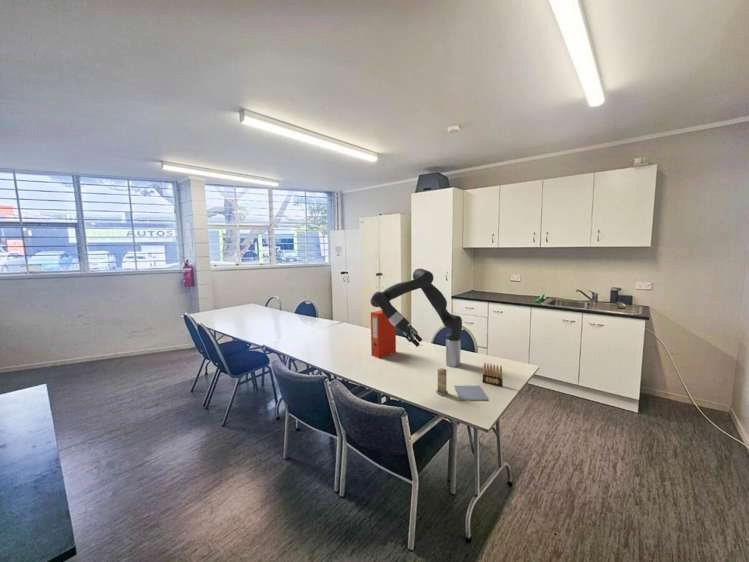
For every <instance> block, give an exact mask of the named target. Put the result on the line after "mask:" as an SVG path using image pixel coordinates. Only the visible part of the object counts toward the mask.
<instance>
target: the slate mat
mask: <svg viewBox="0 0 749 562" xmlns="http://www.w3.org/2000/svg"><path fill="white" fill-rule="evenodd" d="M454 387H455V388H454ZM453 388H454V389H455V392H456V393H457V397H458V398H460V399H459V400H460V402H461V401H462V400H463V401H464V400H472V401H475V400H477V401H478V400H481V401H488V402H489V398H488V397H487V394H486V393H485V392H484V390H483V389H482V387H481V385H453ZM472 401H471V402H472ZM477 401H476V402H477ZM464 402H465V401H464Z"/></svg>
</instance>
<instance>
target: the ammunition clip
mask: <svg viewBox="0 0 749 562" xmlns="http://www.w3.org/2000/svg"><path fill="white" fill-rule="evenodd" d="M502 367H503V366H502V365H500V367H499V365H498V364H497V365H496V364H494V363H493V365H492V363H490V364H489V363H488V362H487V364H486V362H484V363H483V369H482V383H483V384H486V385H491V386H495V387H499V388H502V387H503V385H504V384H503V368H502Z"/></svg>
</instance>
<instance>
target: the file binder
mask: <svg viewBox="0 0 749 562" xmlns="http://www.w3.org/2000/svg"><path fill="white" fill-rule="evenodd" d="M396 331H397V329H396V328H395V327H394V326H393V325H392V324H391V323H390V321H389V320H388V319H387V318H386V317H385V316H384V315H383V313H382V309H381V310H376V311H372V312H370V342H371V343H370V345H371V346H370V347H371V348H370V349H371V351H370V353H371V356H372V357H374V356H375V358H377V357H378V358H377V359H380V357H381V358H383V356H384V357H386V356H385V355H387V356H390V355H392V354H391V353H393V354H395V353H394V352H397V337H396V336H397V332H396ZM389 354H390V355H389Z"/></svg>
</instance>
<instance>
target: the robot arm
mask: <svg viewBox="0 0 749 562" xmlns="http://www.w3.org/2000/svg"><path fill="white" fill-rule="evenodd" d="M434 277H435V276H434V274H433V272H431V271H429V270H427V269H424V268H417V269H415V270H414V271H413V273H412V279H411V280H408V281H402V282H399V283H395V284H393V285H391V286H389V287H386V288H385V289H384V290H383V291H376V292H374V293H373V295H372V296H371V298H370V305H371V306H372V307H374V308H380V309H381V310H382V313H383V315H384V316H385V317H386V318H387V319H388V320H389V321H390V323H391V324H392V325H393V326H394V327H395V328H396V331H398V332H399V333H402V336H403V337H404V338H405V339H406V340H407V341H408V342H409V343H412V344H413V345H414V346H415V347H416V348H418V347H419V346H420V343H421V342H422V341H423V339H422V337H421V336H420V335H419V331H418V330H416V329H415V328H414V327H413V326H412V325H411V324H410V321H409V320H408V319H407V318H406V317H405V316H404V314H403V315H402V313H401V312H400V311H398V310H397V308H396V307H395V306H394V305H393V304H392V302H391V301H392V300H395V299H397V298H399V297H401V296H402V295H404V294H407V293H409V292H413V291H415V290H419V289H421V291H422V292H423V294H424V295H425V297H426V298H427V300H428V301H429V303H430V305H431V306H432V308H433V309H434V310H435V312H436V313H437V315H438V317H439V318H440V320H441V322H442V324H443V325H444V327H445V328H447V329H450V330H451V332H449V333H447V334H446V335H445V365H446V364H447V365H446V366H447V367H451V366H453V368H457V367H456V366H458V367H461V337H462V329H463V320H462V317H461V316H460V315H455V314H451V313H450V312H449V311H448V309H447V307H448V301H447V299H446V297H445V296H444V294H443V293H442V292H441V291H440V289H438V288H437V287H436V286H435V285H434V284H433V281H434Z"/></svg>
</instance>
